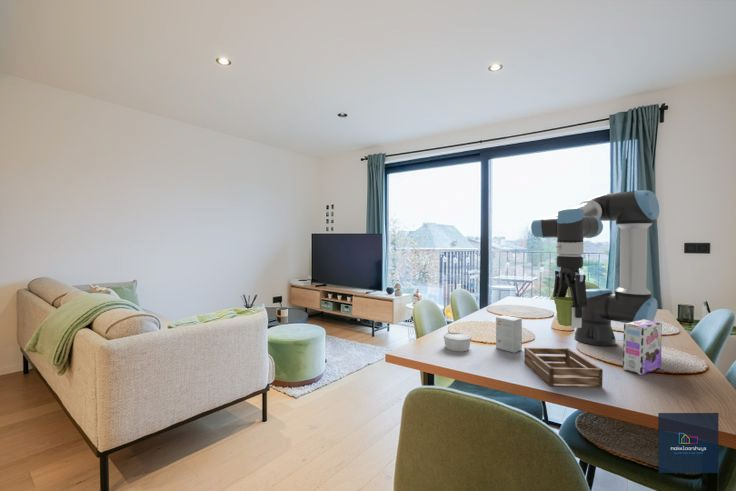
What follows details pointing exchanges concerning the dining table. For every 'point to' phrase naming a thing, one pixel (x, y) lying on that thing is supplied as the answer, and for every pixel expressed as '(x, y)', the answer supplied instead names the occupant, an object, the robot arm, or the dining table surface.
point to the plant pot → (564, 310)
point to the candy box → (642, 346)
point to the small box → (509, 333)
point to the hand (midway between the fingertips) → (568, 323)
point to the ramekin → (457, 341)
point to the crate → (563, 368)
